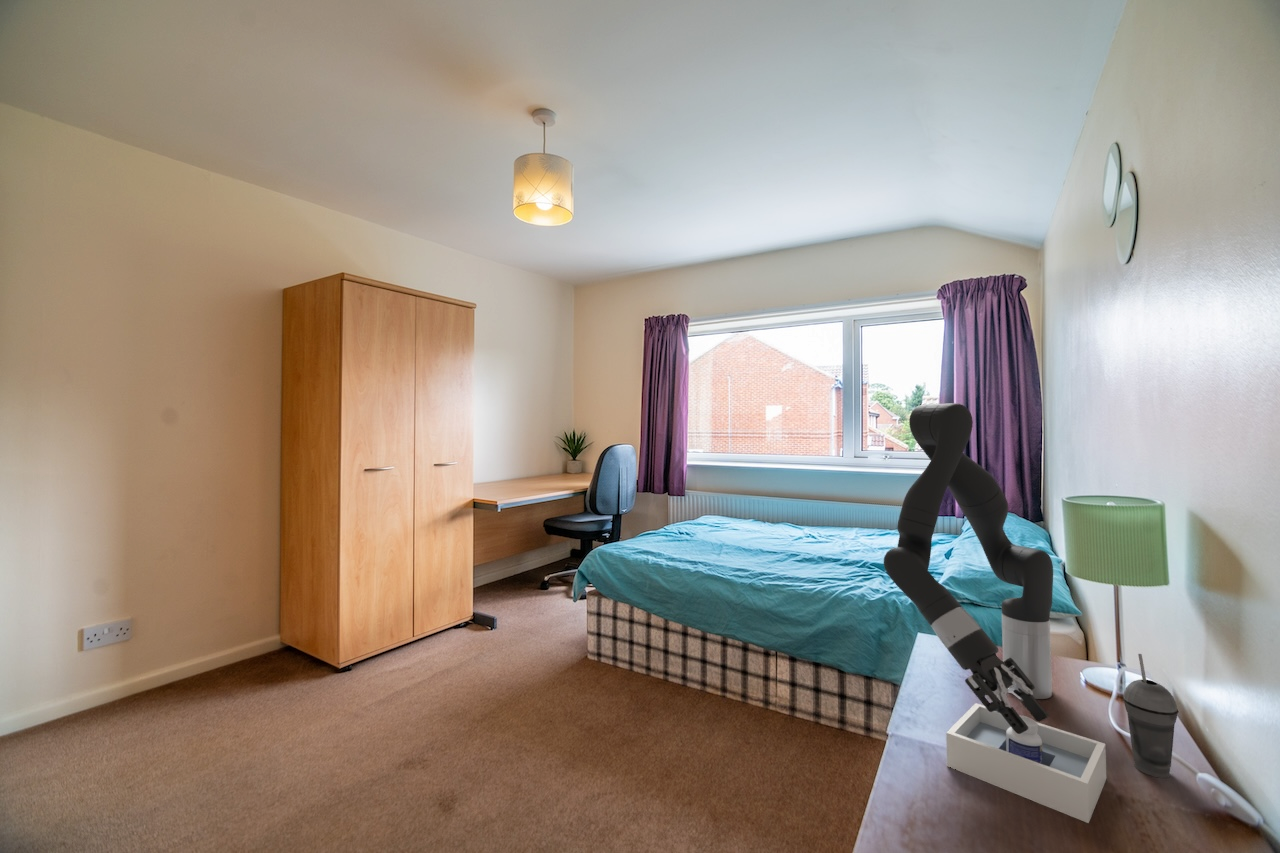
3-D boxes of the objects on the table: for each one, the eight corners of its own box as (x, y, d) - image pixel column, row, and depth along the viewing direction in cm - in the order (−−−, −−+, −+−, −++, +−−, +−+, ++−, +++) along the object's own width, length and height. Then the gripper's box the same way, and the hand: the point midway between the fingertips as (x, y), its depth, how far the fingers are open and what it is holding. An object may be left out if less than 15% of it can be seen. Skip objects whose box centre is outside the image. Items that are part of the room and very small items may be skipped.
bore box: (976, 733, 110) (975, 703, 110) (1106, 778, 95) (1105, 743, 95) (947, 766, 99) (946, 732, 99) (1088, 823, 84) (1087, 783, 84)
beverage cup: (1169, 787, 92) (1166, 668, 93) (1116, 765, 99) (1113, 653, 99) (1188, 775, 96) (1184, 659, 96) (1135, 753, 102) (1132, 645, 102)
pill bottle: (1048, 782, 94) (1048, 729, 94) (1014, 777, 95) (1014, 725, 95) (1033, 764, 99) (1032, 714, 99) (1000, 760, 100) (1000, 711, 101)
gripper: (957, 635, 100) (1031, 729, 90) (996, 620, 107) (1069, 705, 97) (929, 655, 104) (997, 746, 94) (969, 639, 112) (1036, 722, 102)
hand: (1033, 725), depth 96 cm, fingers open, 7 cm apart
